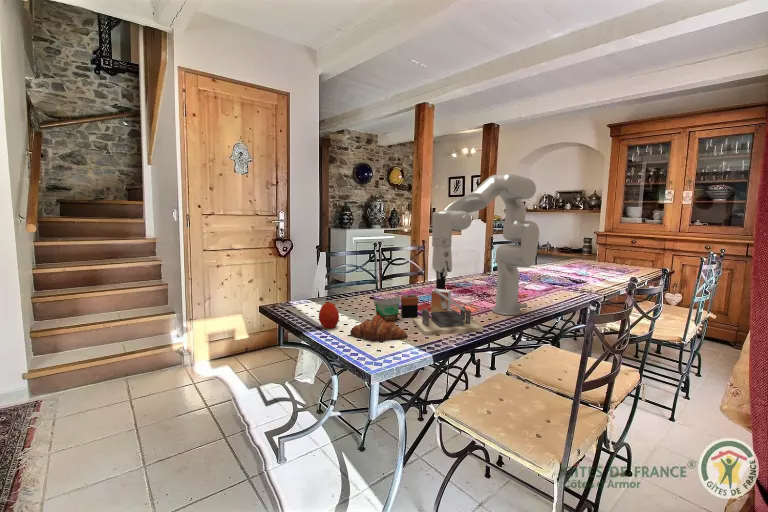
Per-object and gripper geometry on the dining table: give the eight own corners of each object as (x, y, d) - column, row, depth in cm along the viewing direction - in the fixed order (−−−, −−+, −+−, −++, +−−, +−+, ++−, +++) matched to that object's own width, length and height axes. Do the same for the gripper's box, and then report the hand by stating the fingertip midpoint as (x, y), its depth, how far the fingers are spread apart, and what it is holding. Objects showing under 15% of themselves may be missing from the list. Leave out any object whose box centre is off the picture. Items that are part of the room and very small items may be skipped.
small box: (430, 313, 169) (431, 290, 168) (433, 310, 175) (434, 288, 173) (447, 315, 166) (448, 292, 165) (450, 311, 172) (451, 289, 170)
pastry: (386, 327, 150) (386, 308, 149) (408, 338, 137) (409, 317, 136) (349, 334, 141) (349, 314, 140) (369, 347, 128) (369, 325, 127)
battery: (417, 317, 163) (418, 295, 161) (402, 318, 162) (402, 295, 160) (415, 314, 167) (415, 293, 166) (400, 315, 166) (401, 293, 165)
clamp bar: (464, 311, 153) (465, 309, 153) (467, 314, 149) (469, 311, 149) (433, 290, 149) (435, 288, 149) (436, 292, 145) (438, 290, 145)
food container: (380, 325, 152) (380, 301, 150) (373, 321, 157) (373, 298, 156) (406, 321, 157) (406, 298, 156) (398, 317, 163) (399, 295, 162)
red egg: (316, 325, 151) (315, 300, 150) (336, 323, 154) (335, 298, 153) (321, 332, 144) (320, 305, 142) (341, 329, 147) (341, 303, 145)
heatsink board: (465, 318, 160) (466, 302, 159) (483, 330, 145) (484, 312, 144) (412, 322, 155) (413, 305, 154) (425, 335, 140) (425, 316, 139)
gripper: (458, 244, 139) (456, 292, 141) (443, 241, 153) (442, 284, 155) (439, 244, 137) (438, 293, 139) (426, 241, 151) (425, 285, 154)
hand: (440, 288), depth 147 cm, fingers closed
